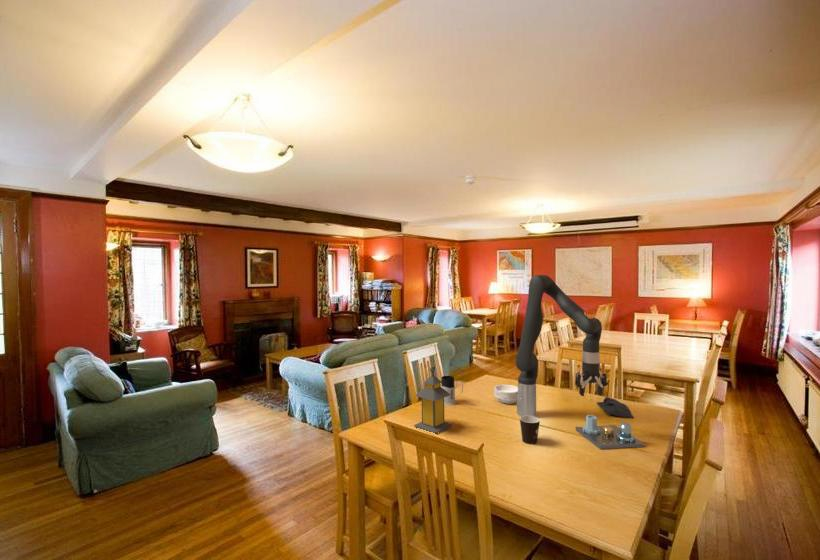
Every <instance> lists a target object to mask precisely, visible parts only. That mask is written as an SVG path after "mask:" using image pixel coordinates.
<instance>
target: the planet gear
mask: <svg viewBox="0 0 820 560" xmlns="http://www.w3.org/2000/svg"><path fill="white" fill-rule="evenodd" d="M597 426H598V417H597V416H596V415H593V414H588V415H586V416H585V425H582V426H581V427H582V429H583V431H584V432H586V433H588V434H599V433H601V430H600V428H597Z"/></svg>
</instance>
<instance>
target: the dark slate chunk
mask: <svg viewBox="0 0 820 560" xmlns="http://www.w3.org/2000/svg"><path fill="white" fill-rule="evenodd" d="M596 404H597V405H598V406H599V407H600V409H602V410H603V411H604V412H605V413H606V414H607V415H609V416H612V417H613V416H614V417H619V416H620V418H625V417H626V418H627V419H635V417H634V415H633V414H631V413H632V412H631V410H630V409H629V407H628V406H627V405H626V404H625V403H622V402H620V401H618V400H617V399H615V398H612V397H609V396H604V398H603V401H601V402H600V401H599V402H596Z"/></svg>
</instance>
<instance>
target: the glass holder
mask: <svg viewBox="0 0 820 560" xmlns="http://www.w3.org/2000/svg"><path fill="white" fill-rule="evenodd" d="M440 381H441V383H440V387H442V388H443V389H444V390H446V391H447V392H448V393H450V394H451V395H450V396H447V397H445V398H444V406H455V405H456V404H457V403H456V399H457V398H459V397H460V396H461V395H462V393H463V391H464V384H463V382H461V381H457V382H455V377H454V376H453V375H443V376H441V379H440ZM458 383H460V384H461V391H460V394H459V395H457V396H456V388H457V387H458ZM455 396H456V397H455Z"/></svg>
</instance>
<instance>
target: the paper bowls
mask: <svg viewBox="0 0 820 560" xmlns="http://www.w3.org/2000/svg"><path fill="white" fill-rule="evenodd" d="M493 395H494V397H495V398H497V400H498V402H500V403H502V404H505V403H506V404H505V405H510V404H511V405H513V404H515V403H517V395H518V385H512V384H504V383H503V384H496V385H495V386H494V388H493Z"/></svg>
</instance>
